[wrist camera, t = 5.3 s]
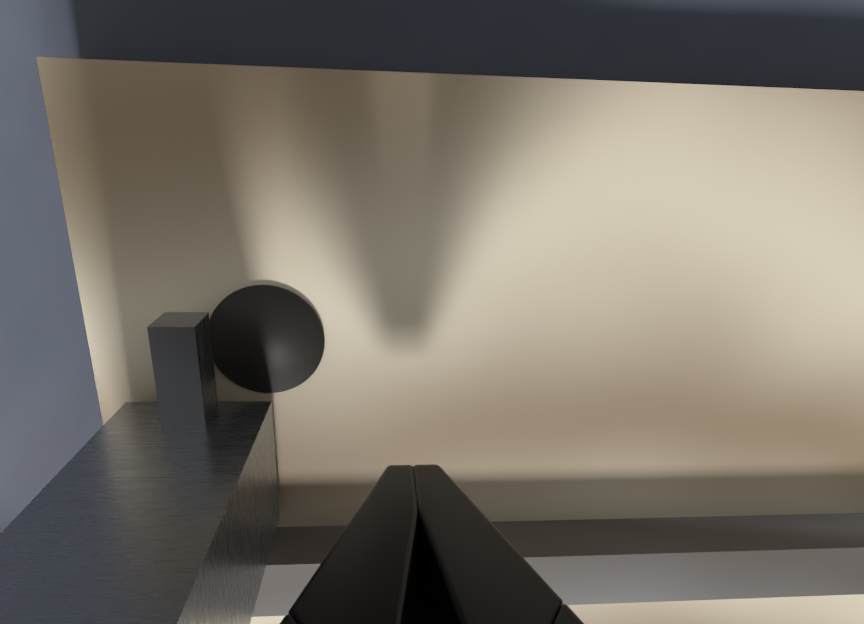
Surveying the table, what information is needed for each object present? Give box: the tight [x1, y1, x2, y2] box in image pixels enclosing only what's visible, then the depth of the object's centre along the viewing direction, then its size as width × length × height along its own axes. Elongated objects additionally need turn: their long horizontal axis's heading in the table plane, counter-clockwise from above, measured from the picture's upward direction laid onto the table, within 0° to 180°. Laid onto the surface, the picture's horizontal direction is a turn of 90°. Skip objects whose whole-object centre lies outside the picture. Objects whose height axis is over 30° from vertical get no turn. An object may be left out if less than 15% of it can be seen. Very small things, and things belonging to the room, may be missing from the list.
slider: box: [0, 312, 280, 624], centre depth 7 cm, size 4×3×6 cm, turn 178°
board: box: [36, 57, 864, 624], centre depth 9 cm, size 14×25×7 cm, turn 88°
